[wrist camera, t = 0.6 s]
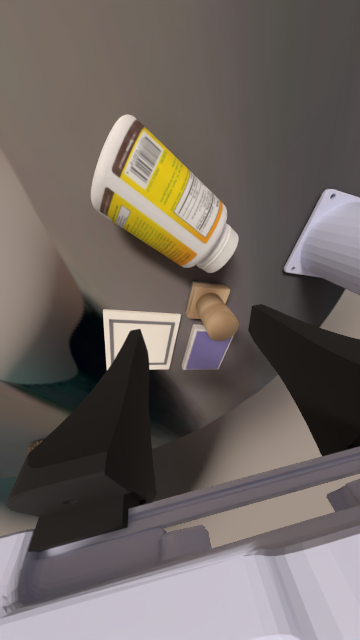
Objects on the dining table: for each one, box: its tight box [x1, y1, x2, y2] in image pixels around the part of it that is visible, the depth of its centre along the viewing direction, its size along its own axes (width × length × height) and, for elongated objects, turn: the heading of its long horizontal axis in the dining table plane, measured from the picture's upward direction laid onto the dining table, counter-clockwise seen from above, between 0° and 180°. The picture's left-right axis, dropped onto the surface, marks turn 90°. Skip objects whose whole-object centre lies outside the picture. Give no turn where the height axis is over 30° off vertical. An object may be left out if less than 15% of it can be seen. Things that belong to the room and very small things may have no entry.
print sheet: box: [103, 309, 181, 370], centre depth 23 cm, size 9×10×1 cm
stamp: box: [185, 281, 239, 341], centre depth 19 cm, size 4×4×6 cm
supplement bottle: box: [91, 115, 238, 273], centre depth 13 cm, size 6×6×10 cm
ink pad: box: [182, 324, 234, 370], centre depth 26 cm, size 6×8×1 cm
